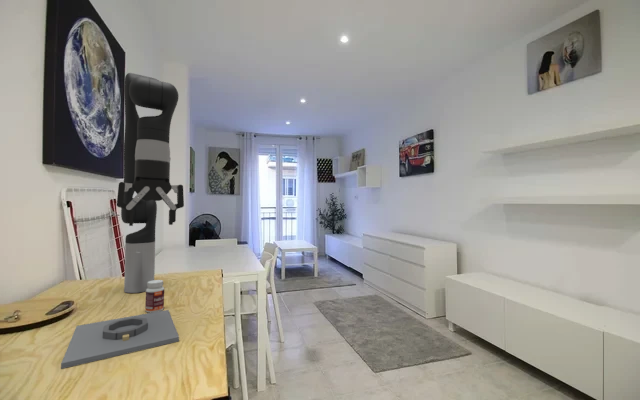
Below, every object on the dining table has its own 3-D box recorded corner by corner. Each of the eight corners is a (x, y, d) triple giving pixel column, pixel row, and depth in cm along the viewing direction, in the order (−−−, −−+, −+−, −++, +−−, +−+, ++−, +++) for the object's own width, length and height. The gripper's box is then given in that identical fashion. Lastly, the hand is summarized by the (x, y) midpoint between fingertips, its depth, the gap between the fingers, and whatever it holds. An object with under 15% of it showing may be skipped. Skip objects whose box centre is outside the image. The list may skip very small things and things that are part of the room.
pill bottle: (155, 313, 81) (156, 284, 81) (141, 312, 82) (142, 283, 82) (167, 307, 85) (168, 279, 85) (154, 306, 86) (154, 278, 86)
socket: (76, 329, 70) (76, 319, 70) (168, 313, 81) (168, 304, 81) (60, 368, 53) (61, 355, 53) (178, 341, 64) (179, 330, 64)
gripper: (182, 164, 78) (180, 223, 78) (118, 159, 70) (116, 224, 70) (186, 161, 72) (185, 225, 72) (117, 155, 64) (115, 227, 64)
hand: (151, 225), depth 71 cm, fingers open, 8 cm apart
